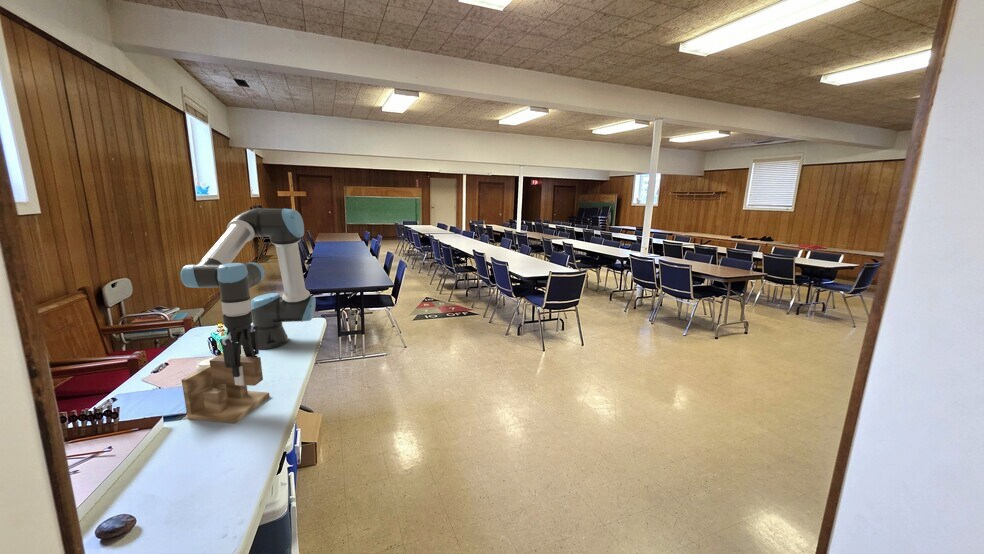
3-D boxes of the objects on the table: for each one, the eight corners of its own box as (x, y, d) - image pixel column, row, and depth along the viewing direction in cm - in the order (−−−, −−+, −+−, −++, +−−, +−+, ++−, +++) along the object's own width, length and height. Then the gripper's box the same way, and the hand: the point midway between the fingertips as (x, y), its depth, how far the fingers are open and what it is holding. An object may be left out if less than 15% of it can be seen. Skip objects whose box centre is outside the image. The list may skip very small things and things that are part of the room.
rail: (222, 377, 125) (218, 355, 124) (263, 379, 125) (260, 357, 123) (212, 383, 122) (209, 360, 120) (255, 385, 121) (252, 362, 119)
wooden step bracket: (227, 392, 135) (222, 357, 132) (269, 396, 133) (265, 361, 130) (187, 418, 119) (181, 379, 116) (234, 423, 118) (229, 383, 115)
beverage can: (213, 398, 130) (209, 366, 128) (194, 395, 132) (189, 364, 129) (233, 387, 138) (230, 357, 136) (215, 384, 140) (211, 354, 137)
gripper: (246, 304, 127) (253, 368, 132) (202, 320, 110) (213, 393, 115) (267, 305, 126) (273, 370, 131) (226, 322, 109) (236, 395, 114)
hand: (245, 381), depth 123 cm, fingers closed on rail, 4 cm apart
